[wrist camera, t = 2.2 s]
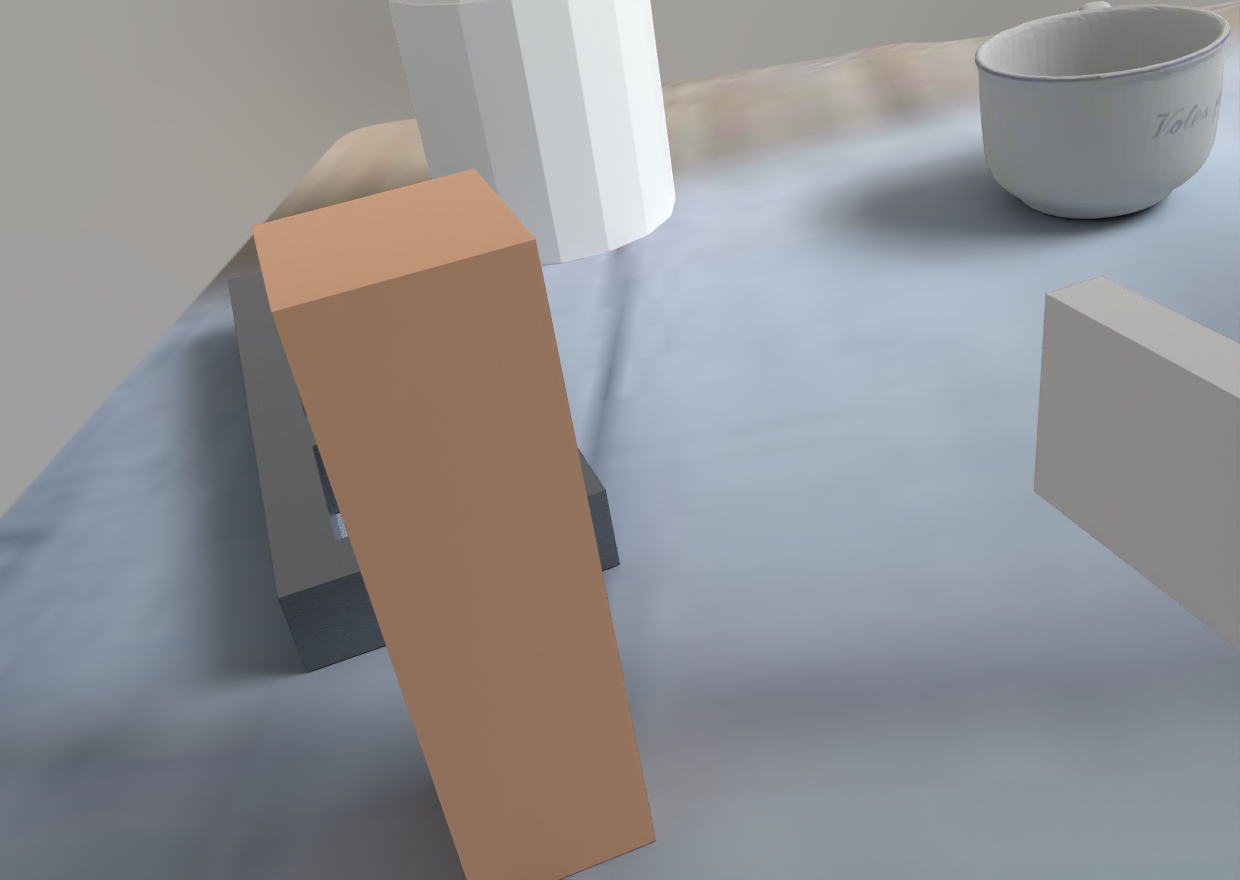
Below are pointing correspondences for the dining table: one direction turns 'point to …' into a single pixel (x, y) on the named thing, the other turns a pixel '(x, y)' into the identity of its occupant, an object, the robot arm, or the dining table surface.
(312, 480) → the rail
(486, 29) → the container
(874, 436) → the dining table surface
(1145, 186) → the teacup
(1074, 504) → the robot arm
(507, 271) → the post
